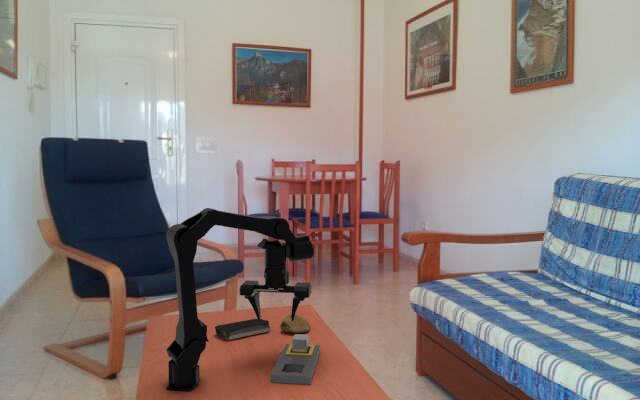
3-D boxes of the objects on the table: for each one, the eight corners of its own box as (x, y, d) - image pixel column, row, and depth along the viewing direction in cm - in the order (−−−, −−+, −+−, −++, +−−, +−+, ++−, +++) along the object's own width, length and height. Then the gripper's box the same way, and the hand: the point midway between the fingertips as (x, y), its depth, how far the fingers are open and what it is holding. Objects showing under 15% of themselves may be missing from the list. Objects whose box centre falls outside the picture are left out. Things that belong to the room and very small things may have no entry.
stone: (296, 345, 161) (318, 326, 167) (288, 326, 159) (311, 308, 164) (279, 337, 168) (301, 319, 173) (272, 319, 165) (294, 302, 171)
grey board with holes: (270, 382, 129) (270, 373, 129) (285, 350, 150) (285, 342, 150) (310, 384, 128) (310, 375, 128) (320, 352, 149) (320, 344, 149)
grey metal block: (292, 360, 143) (292, 339, 143) (294, 354, 147) (294, 334, 147) (306, 360, 143) (306, 339, 142) (308, 355, 147) (308, 334, 146)
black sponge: (224, 343, 156) (224, 332, 155) (213, 335, 163) (213, 324, 162) (272, 333, 165) (272, 322, 164) (260, 326, 172) (260, 315, 171)
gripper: (314, 258, 146) (314, 312, 147) (249, 256, 148) (249, 309, 149) (308, 267, 135) (308, 325, 136) (238, 264, 137) (239, 322, 138)
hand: (275, 320), depth 140 cm, fingers open, 9 cm apart
